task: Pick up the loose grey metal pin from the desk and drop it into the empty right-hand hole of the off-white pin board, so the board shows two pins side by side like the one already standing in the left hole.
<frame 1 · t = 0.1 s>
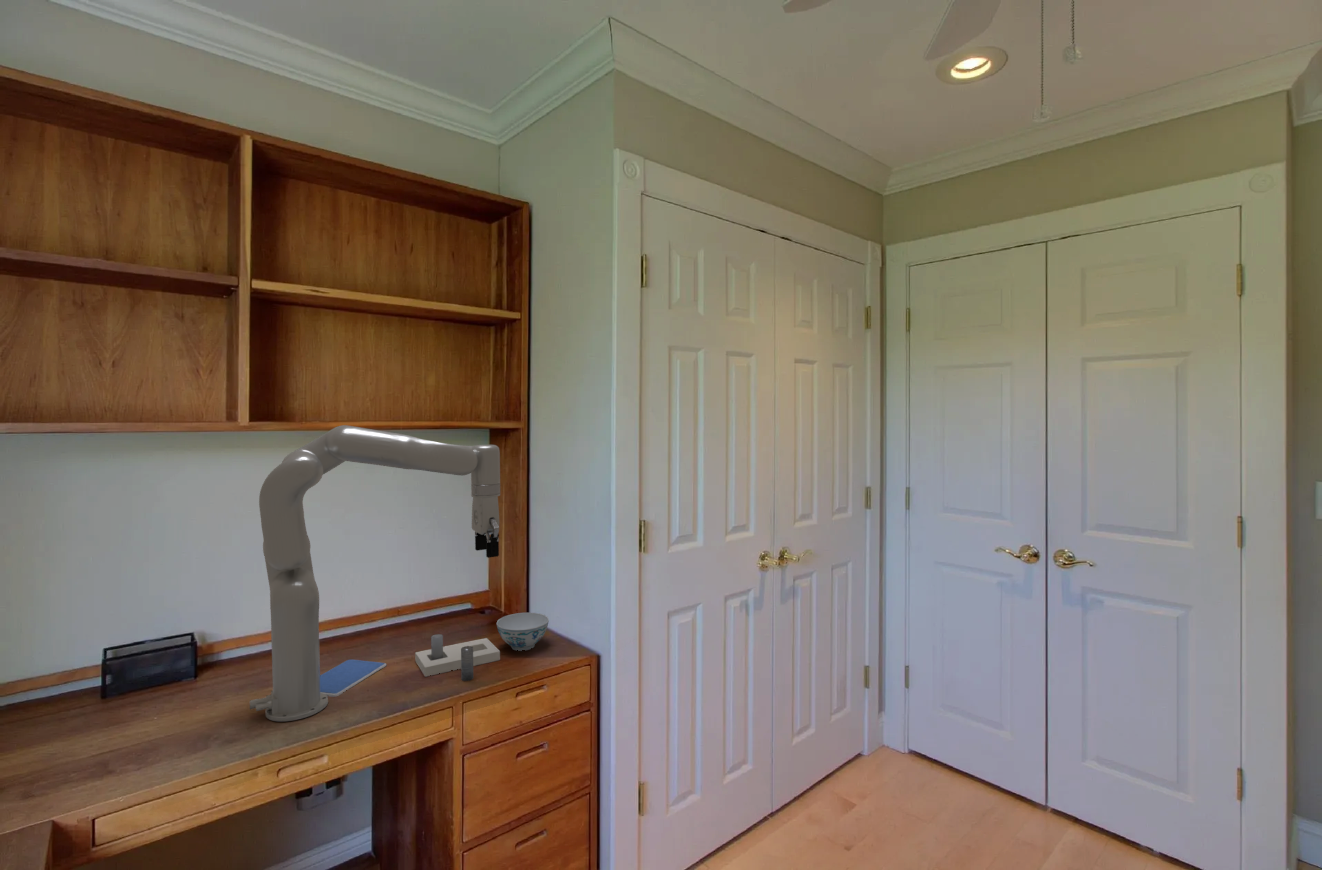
hand: (486, 553, 168), 31 cm above the table, tool pointing down, fingers open, 9 cm apart
pin board: (457, 660, 173), on the table
steel pin: (467, 678, 161), on the table
tablet computer: (342, 680, 162), on the table
chinaware: (523, 647, 183), on the table
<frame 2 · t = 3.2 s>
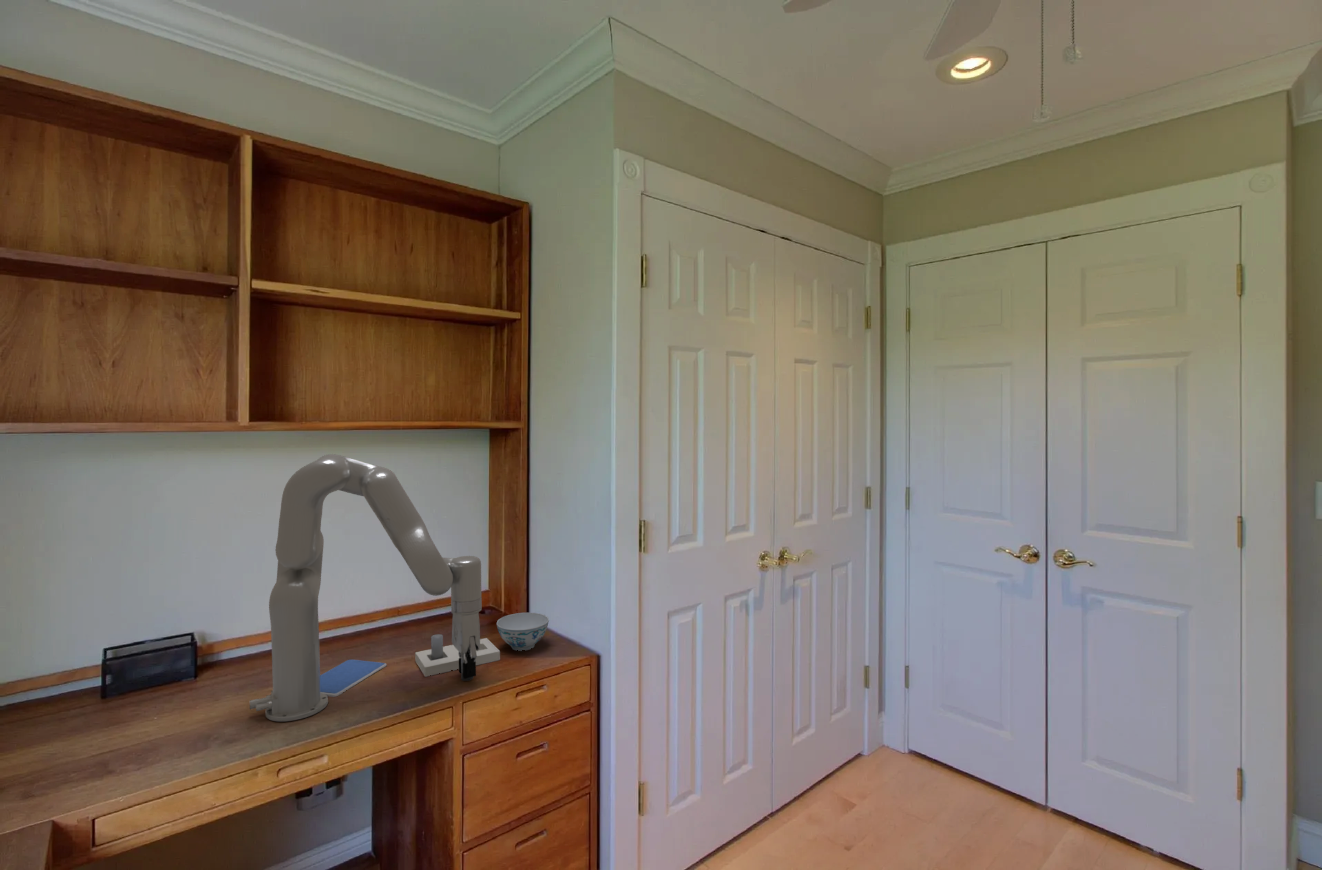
hand: (467, 674, 161), 1 cm above the table, tool pointing down, fingers closed on steel pin, 3 cm apart
steel pin: (467, 678, 161), on the table, touching gripper
everything else where it was.
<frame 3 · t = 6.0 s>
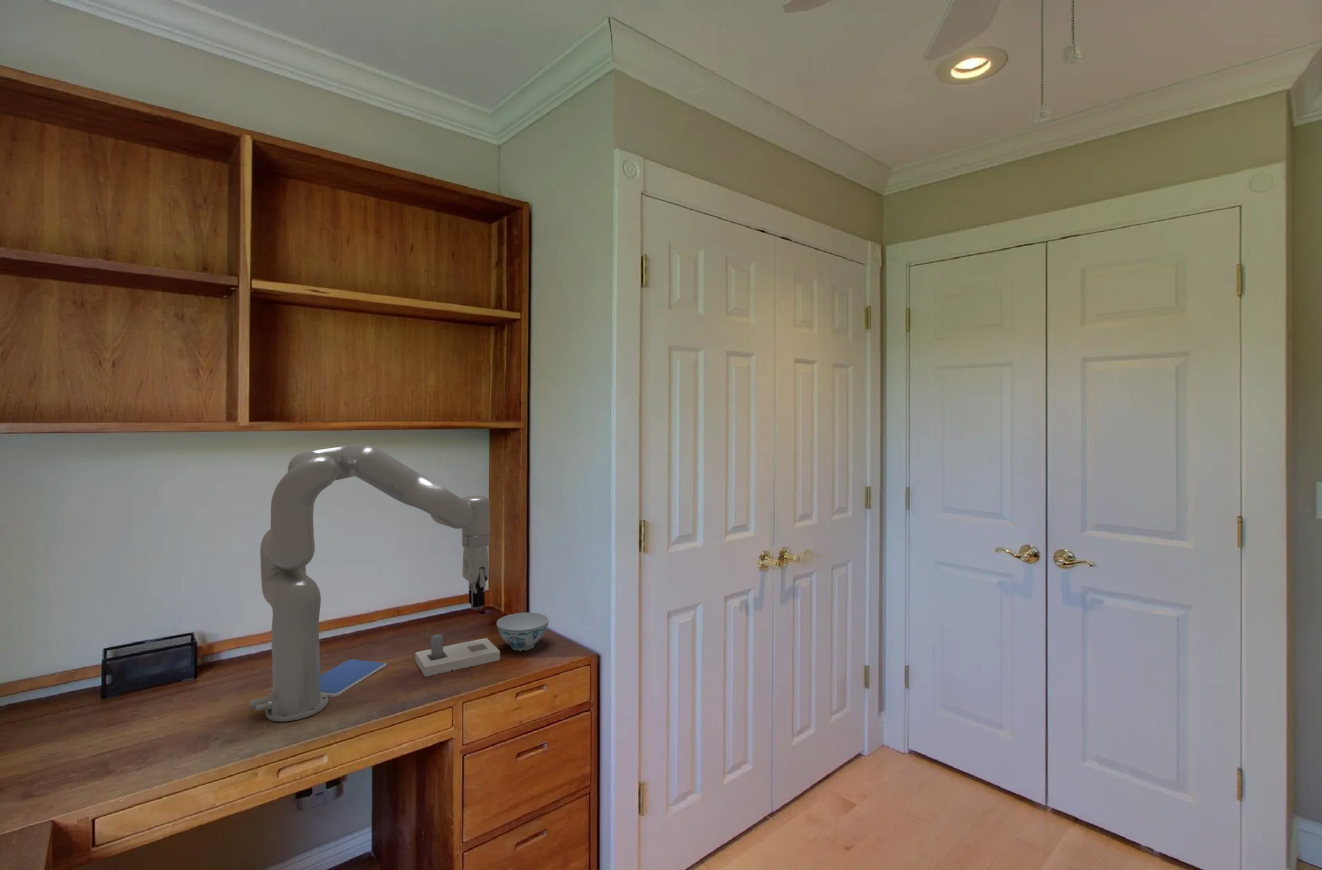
hand: (476, 604, 175), 15 cm above the table, tool pointing down, fingers closed on steel pin, 3 cm apart
steel pin: (477, 608, 175), point 14 cm above the table, touching gripper
everything else where it was.
when the fingers open (4 cm above the table, at t = 8.8 s): steel pin drops 2 cm, resting in pin board.
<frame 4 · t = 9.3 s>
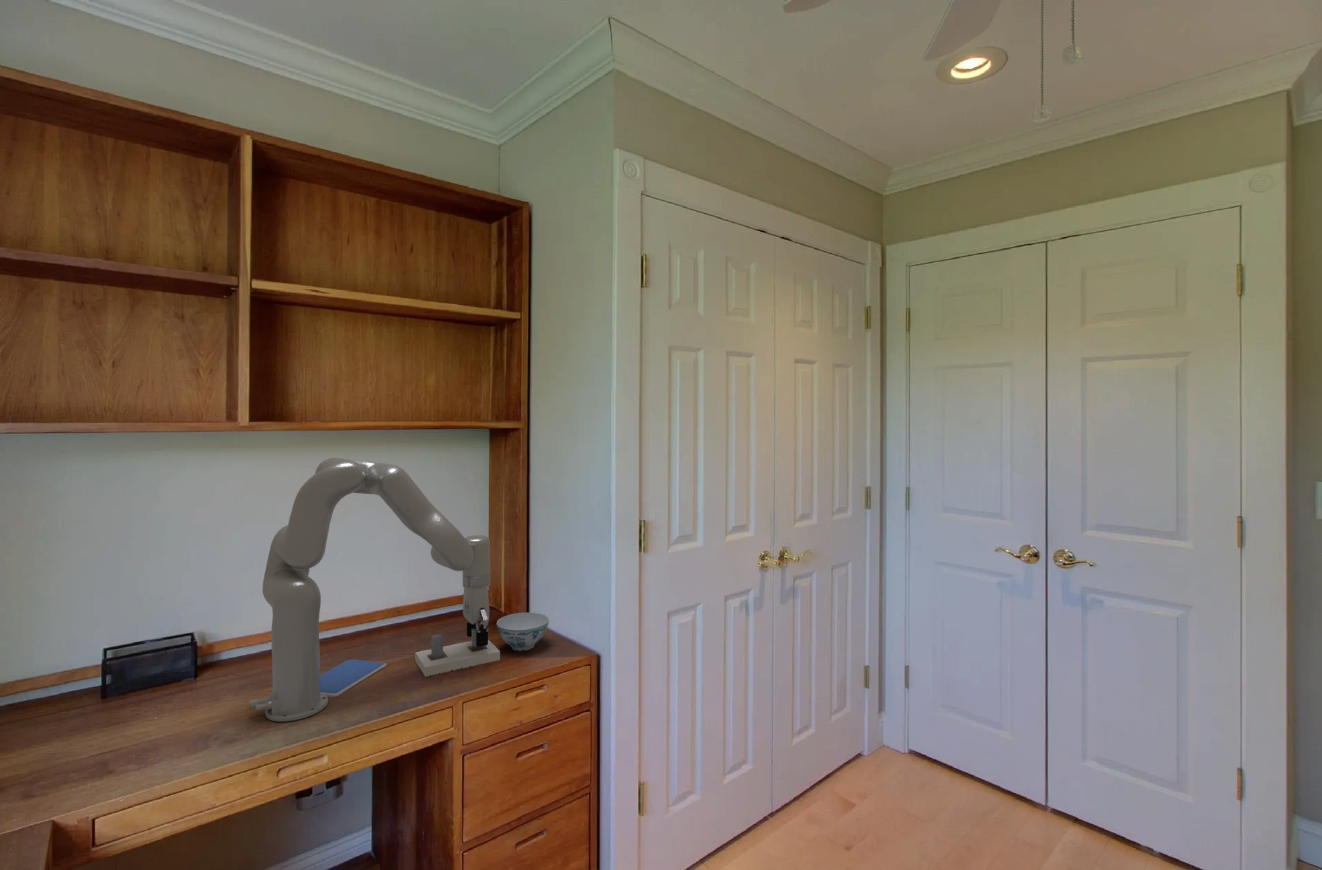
hand: (477, 640, 176), 5 cm above the table, tool pointing down, fingers open, 8 cm apart
steel pin: (477, 656, 176), resting in pin board
everything else where it was.
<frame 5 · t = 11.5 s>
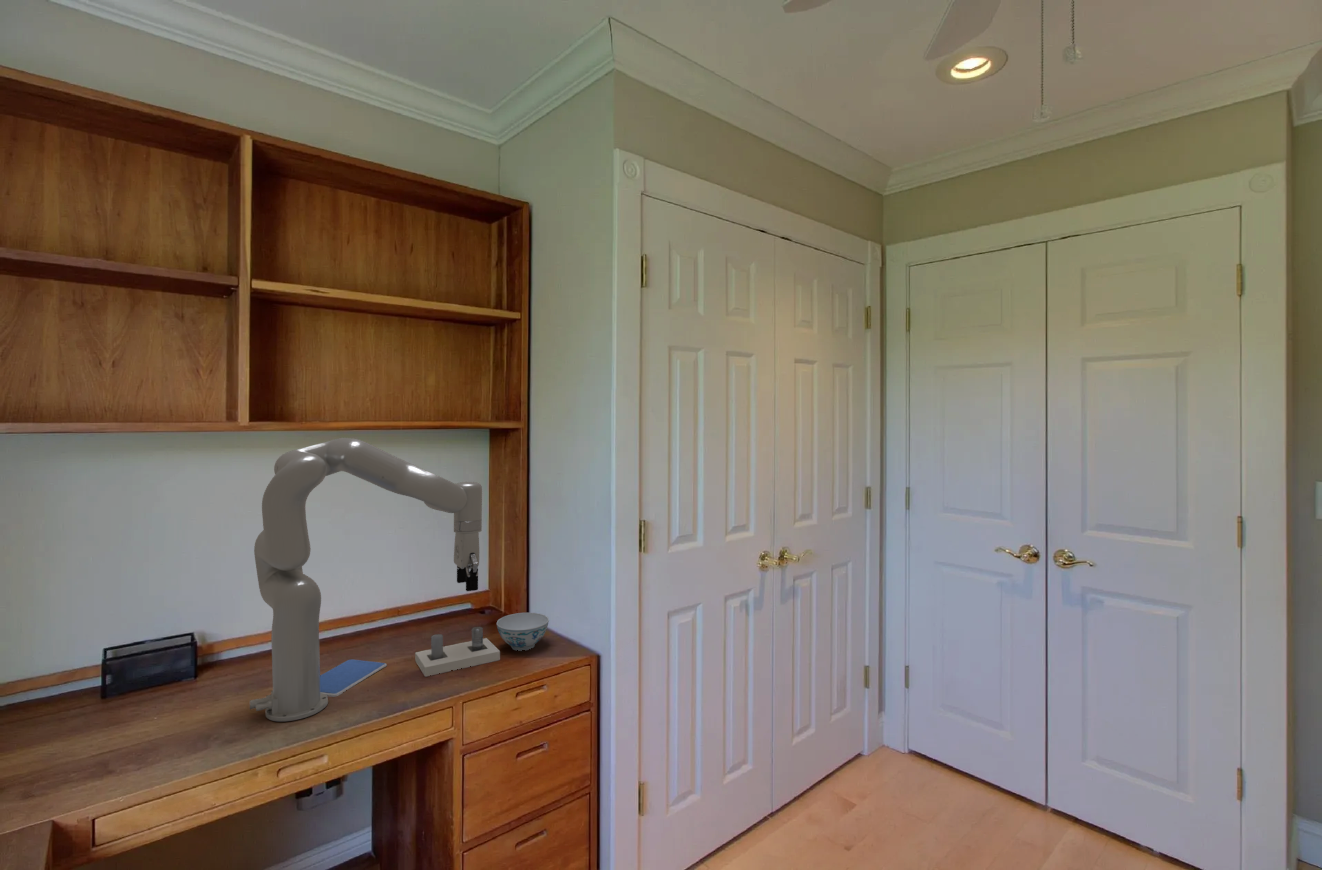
hand: (467, 586, 175), 20 cm above the table, tool pointing down, fingers open, 9 cm apart
nothing on the table moved.
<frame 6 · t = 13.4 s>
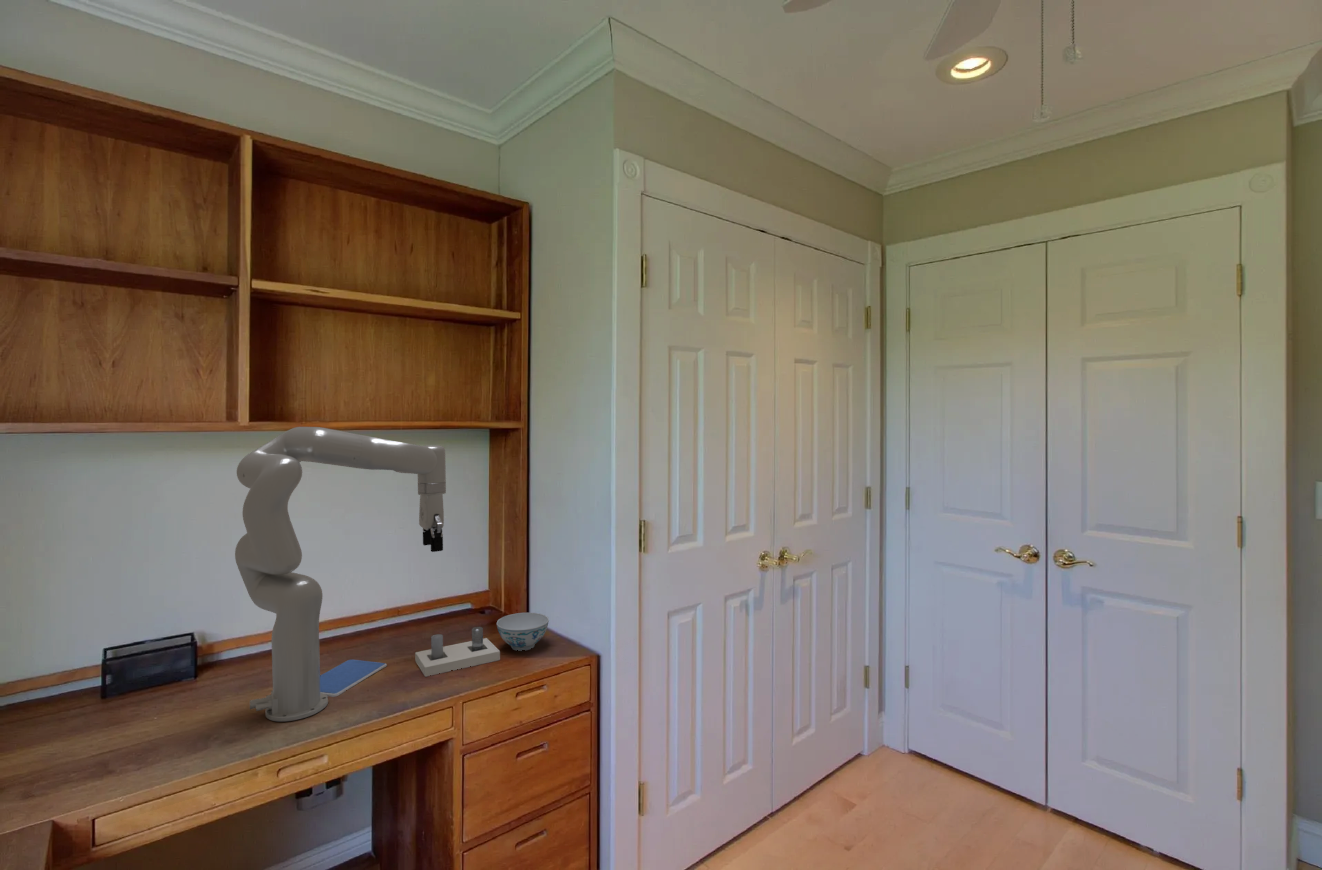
hand: (432, 547, 178), 30 cm above the table, tool pointing down, fingers open, 9 cm apart
nothing on the table moved.
at the end: steel pin 0.1 cm from the target spot on the pin board, point 0.0 cm above the pin board's base; steel pin tilted 0°; the gripper is holding nothing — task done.
